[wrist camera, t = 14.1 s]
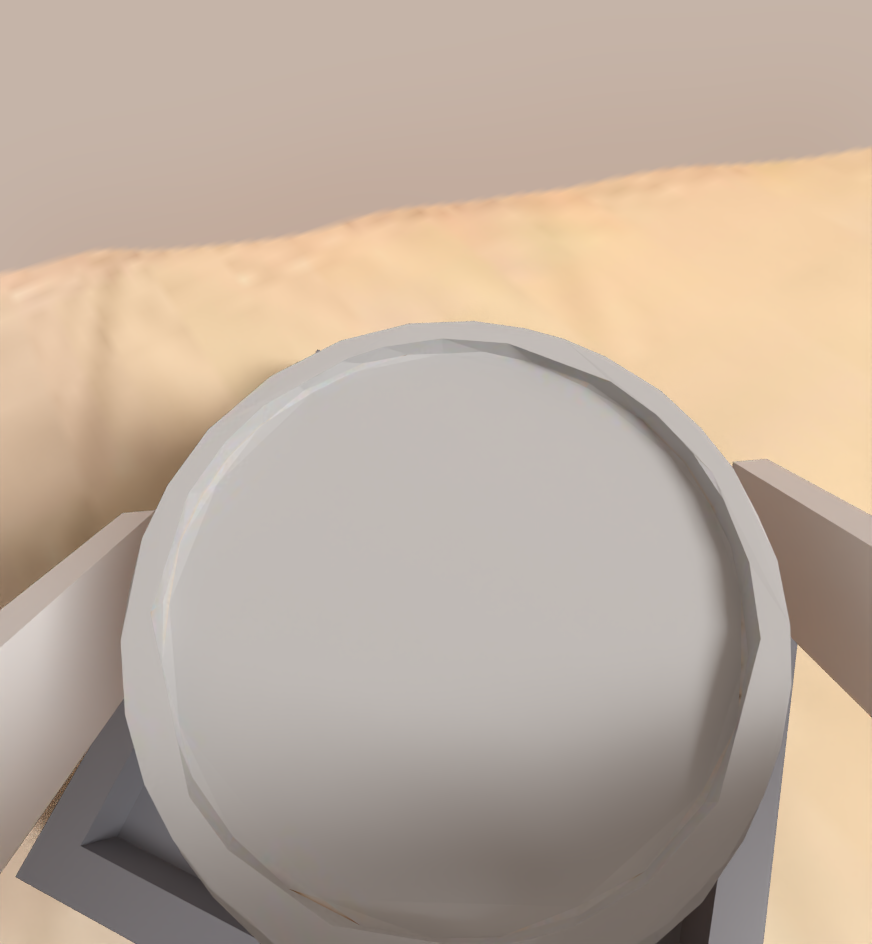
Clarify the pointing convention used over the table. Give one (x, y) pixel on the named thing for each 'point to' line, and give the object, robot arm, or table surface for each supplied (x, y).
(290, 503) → the disposable coffee cup
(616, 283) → the table surface
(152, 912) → the charcoal serving tray
